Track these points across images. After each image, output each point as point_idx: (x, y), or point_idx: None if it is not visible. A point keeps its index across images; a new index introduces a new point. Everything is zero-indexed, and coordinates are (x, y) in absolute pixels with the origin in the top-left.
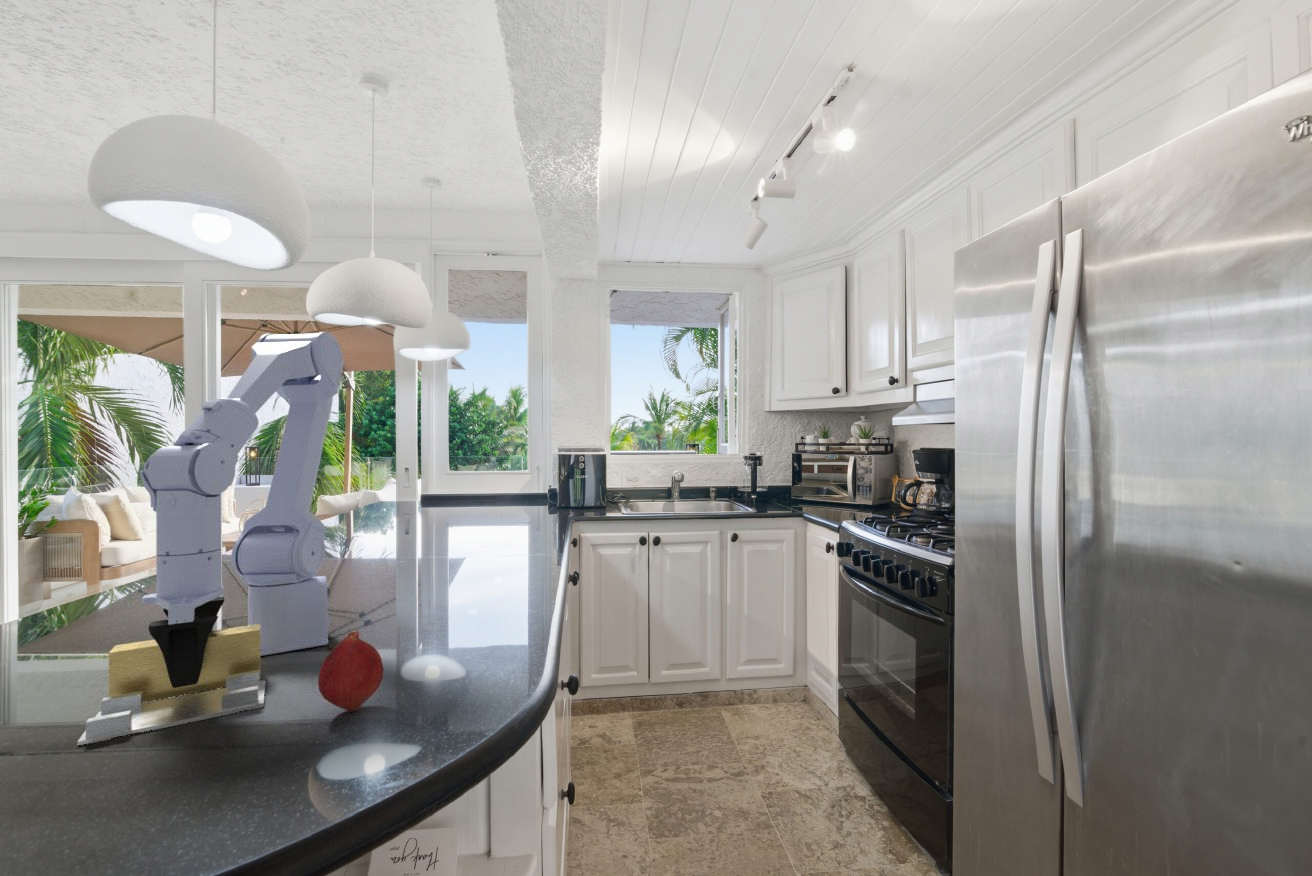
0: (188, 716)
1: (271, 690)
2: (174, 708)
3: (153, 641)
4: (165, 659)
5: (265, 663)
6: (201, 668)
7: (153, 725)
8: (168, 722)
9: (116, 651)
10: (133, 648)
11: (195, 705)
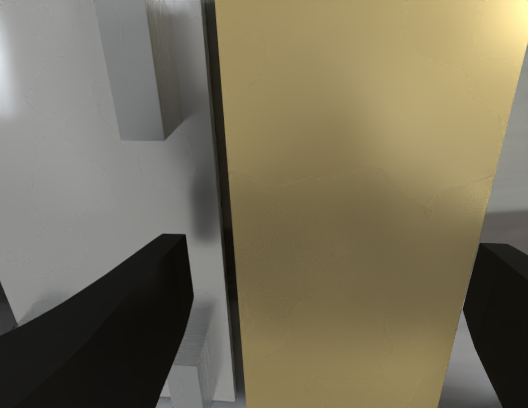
0: (8, 255)
1: (170, 397)
2: (94, 218)
3: (396, 263)
4: (64, 303)
5: (462, 405)
6: (180, 343)
7: None
8: None
9: (231, 36)
10: (258, 158)
11: (99, 265)
